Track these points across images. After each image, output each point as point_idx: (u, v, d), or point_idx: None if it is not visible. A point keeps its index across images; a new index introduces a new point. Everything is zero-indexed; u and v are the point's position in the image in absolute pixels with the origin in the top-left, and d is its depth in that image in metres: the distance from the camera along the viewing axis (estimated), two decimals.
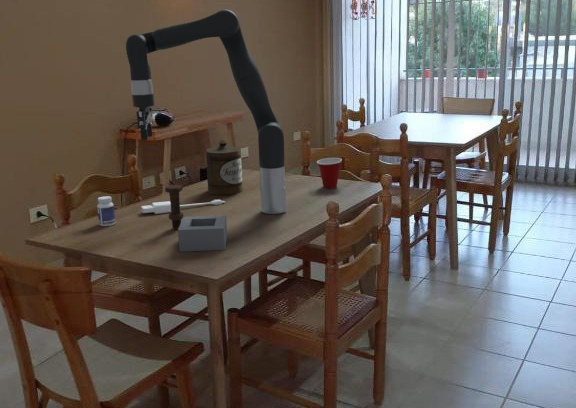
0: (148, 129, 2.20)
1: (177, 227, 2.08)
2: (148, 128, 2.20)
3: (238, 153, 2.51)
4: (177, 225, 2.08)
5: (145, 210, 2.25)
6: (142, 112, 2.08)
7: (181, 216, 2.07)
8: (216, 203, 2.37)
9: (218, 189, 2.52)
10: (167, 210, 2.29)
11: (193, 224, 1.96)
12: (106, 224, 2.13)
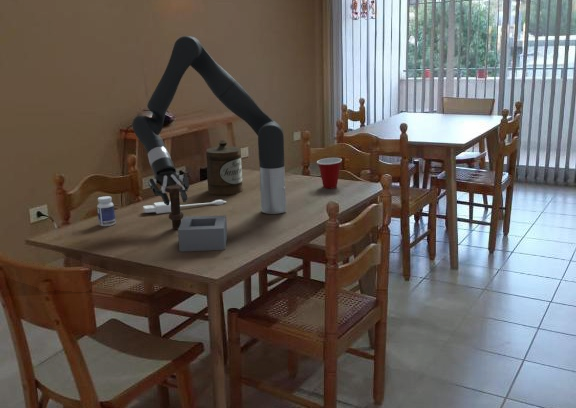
0: (181, 194, 2.08)
1: (177, 227, 2.08)
2: (181, 194, 2.08)
3: (238, 153, 2.51)
4: (177, 225, 2.08)
5: (146, 210, 2.26)
6: (149, 180, 2.05)
7: (181, 216, 2.07)
8: (218, 203, 2.37)
9: (218, 189, 2.52)
10: (168, 210, 2.29)
11: (193, 224, 1.96)
12: (106, 224, 2.13)
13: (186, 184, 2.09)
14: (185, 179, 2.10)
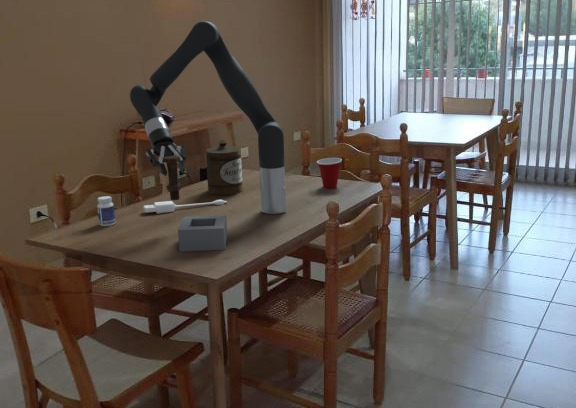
0: (179, 165, 2.05)
1: (175, 198, 2.05)
2: (179, 165, 2.05)
3: (238, 153, 2.51)
4: (175, 196, 2.05)
5: (147, 210, 2.26)
6: (146, 151, 2.02)
7: (179, 187, 2.05)
8: (218, 203, 2.37)
9: (218, 189, 2.52)
10: (169, 210, 2.29)
11: (193, 224, 1.96)
12: (106, 224, 2.13)
13: (184, 155, 2.07)
14: (183, 150, 2.08)
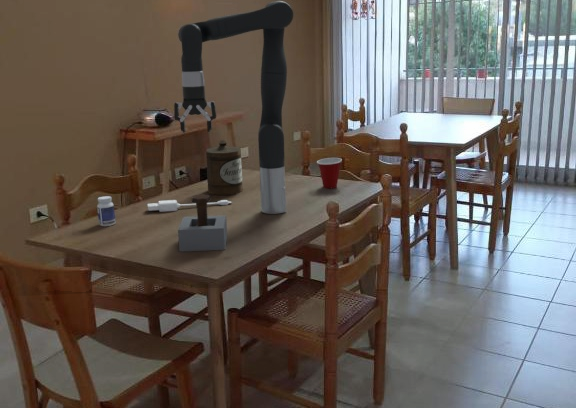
0: (207, 123, 2.09)
1: None
2: (207, 123, 2.09)
3: (238, 153, 2.51)
4: None
5: (150, 208, 2.28)
6: None
7: None
8: (222, 203, 2.36)
9: (218, 189, 2.52)
10: (172, 209, 2.30)
11: (193, 224, 1.96)
12: (106, 224, 2.13)
13: (213, 115, 2.07)
14: (212, 109, 2.07)
